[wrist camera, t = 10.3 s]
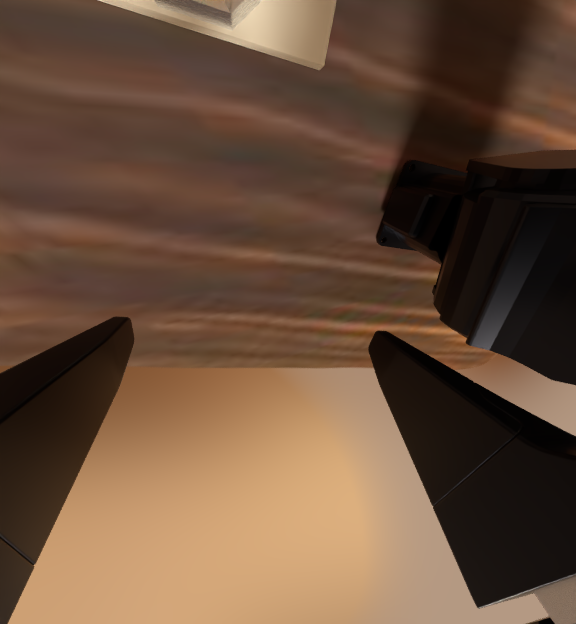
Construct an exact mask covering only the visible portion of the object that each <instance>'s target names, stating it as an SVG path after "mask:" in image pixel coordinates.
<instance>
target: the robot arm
mask: <svg viewBox="0 0 576 624" xmlns="http://www.w3.org/2000/svg"><path fill="white" fill-rule="evenodd" d="M410 165H412V169H411V170H410V171H409V167H410ZM466 171H468V173H464V172H460V171H456V170H452V169H448V168H444V167H440V166H436V165H432V164H428V163H424V162H420V161H416V160H409V161H407V162H406V163H405V165H404V167H403V169H402V172H401V175H400V177H399V180H398V183H397V185H396V188H395V189H394V190H393V193H392V195H391V198H390V201H389V203H388V206H387V209H386V211H385V214H384V217H383V220H382V221H383V223H382V225H381V228H380V231H379V233H378V236H377V240H376V241H377V243H378V244H379V245H381V246H387V247H394V248H401V249H408V250H415V251H419V252H420V253H422V254H424V255H425V256H427V257H429V258H431V259H432V260H434V261H436V262H438V263H439V264H441V268H440V272H439V275H438V279H437V282H436V285H434V287H433V291H432V293H433V295H434V306H435V307H436V309H437V311H438V312H439V313H440V314H441V315H440V320H441V321H442V322H443V323H444V324H446V325H447V326H448V327H450V328H451V329H453V330H454V331H456V332H458V333H459V334H461V335H463V336H464V337H466V338H467V340H466V344H468V345H470V346H474V347H478V348H482V349H486V350H490V351H493V352H495V353H498V354H501V355H504V356H506V357H509V358H511V359H513V360H515V361H517V362H519V363H521V364H523V365H525V366H527V367H529V368H531V369H533V370H534V371H536V372H538V373H540V374H542V375H544V376H545V377H547V378H549V379H551V380H555V381H559V382H564V383H568V384H573V385H576V150H550V151H536V152H528V153H520V154H511V155H503V156H495V157H487V158H479V159H471V160H469V163H468V166H467V170H466ZM383 237H385V239H384V241H382V242H381V240H382V238H383ZM133 344H134V334H133V328H132V323H131V320H130V318H128V317H113V318H111V319H109V320H107V321H105V322H103V323H101V324H99V325H97V326H95V327H93V328H91V329H89V330H87V331H85V332H82V333H80V334H78V335H76V336H74V337H72V338H70V339H68V340H66V341H64V342H62V343H60V344H58V345H56V346H54V347H52V348H50V349H48V350H46V351H44V352H42V353H40V354H38V355H36V356H34V357H32V358H30V359H28V360H26V361H24V362H22V363H20V364H18V365H16V366H14V367H12V368H10V369H8V370H6V371H4V372H2V373H0V624H8V622H9V619H10V617H11V615H12V613H13V611H14V609H15V607H16V605H17V603H18V600H19V598H20V596H21V594H22V592H23V590H24V588H25V586H26V583H27V581H28V579H29V577H30V575H31V573H32V571H33V569H34V564H35V563H36V562H37V560H38V558H39V556H40V553H41V551H42V549H43V547H44V545H45V543H46V541H47V539H48V537H49V535H50V532H51V530H52V528H53V526H54V524H55V522H56V520H57V517H58V515H59V513H60V511H61V509H62V507H63V505H64V503H65V501H66V498H67V496H68V494H69V492H70V490H71V488H72V486H73V484H74V482H75V480H76V477H77V475H78V473H79V471H80V469H81V467H82V465H83V463H84V461H85V458H86V456H87V454H88V452H89V450H90V448H91V445H92V444H93V442H94V439H95V437H96V435H97V433H98V431H99V429H100V427H101V425H102V423H103V420H104V418H105V416H106V414H107V412H108V410H109V408H110V406H111V403H112V401H113V399H114V397H115V395H116V393H117V391H118V389H119V386H120V384H121V381H122V378H123V375H124V372H125V369H126V366H127V363H128V360H129V357H130V354H131V351H132V348H133ZM369 354H370V357H371V360H372V363H373V367H374V370H375V373H376V376H377V379H378V382H379V385H380V387H381V389H382V392H383V394H384V396H385V399H386V401H387V403H388V406H389V407H390V410H391V412H392V414H393V417H394V419H395V422H396V424H397V426H398V428H399V431H400V433H401V435H402V438H403V440H404V442H405V444H406V447H407V449H408V451H409V454H410V456H411V458H412V460H413V463H414V465H415V467H416V469H417V472H418V474H419V476H420V479H421V481H422V483H423V486H424V488H425V490H426V493H427V495H428V497H429V499H430V502H431V504H432V506H434V507H433V509H434V511H435V513H436V515H437V518H438V520H439V522H440V525H441V527H442V530H443V532H444V534H445V536H446V538H447V541H448V543H449V546H450V548H451V550H452V552H453V555H454V557H455V559H456V562H457V564H458V566H459V569H460V571H461V573H462V575H463V578H464V580H465V582H466V584H467V587H468V589H469V591H470V594H471V596H472V598H473V600H474V602H475V604H476V606H477V608H483V607H486V606H490V605H493V604H497V603H500V602H504V601H508V600H511V599H515V598H519V597H522V596H526V595H529V594H533V593H534V594H535V595H536V597H537V598H538V600H539V601H540V603H541V604H542V605H543V607H544V608H545V610H546V612H547V613H548V614H549V617H546V618H542V619H539V620H536V621H533V622H530V623H527V624H576V436H574V435H572V434H570V433H568V432H566V431H563V430H562V429H560V428H558V427H556V426H554V425H552V424H550V423H548V422H547V421H545V420H542V419H541V418H539V417H537V416H535V415H533V414H531V413H530V412H528V411H526V410H524V409H522V408H520V407H518V406H516V405H515V404H513V403H511V402H509V401H507V400H505V399H503V398H502V397H500V396H498V395H496V394H495V393H493V392H491V391H489V390H487V389H486V388H484V387H482V386H481V385H479V384H477V383H474V382H473V381H472V380H470V379H468V378H467V377H465V376H463V375H461V374H460V373H458V372H456V371H455V370H453V369H451V368H449V367H448V366H446V365H444V364H443V363H441V362H439V361H437V360H436V359H434V358H432V357H430V356H429V355H427V354H425V353H424V352H422V351H420V350H418V349H417V348H415V347H413V346H411V345H410V344H408V343H406V342H405V341H403V340H401V339H399V338H398V337H396V336H394V335H392V334H391V333H389V332H387V331H376V332H375V334H374V336H373V338H372V340H371V342H370V345H369Z"/></svg>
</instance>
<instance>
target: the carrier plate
mask: <svg viewBox="0 0 576 624" xmlns="http://www.w3.org/2000/svg"><path fill="white" fill-rule="evenodd" d="M98 1H102V2H105V3H108V4H111V5H114V6H117V7H121V8H124V9H127V10H130V11H133V12H136V13H140V14H143V15H146V16H149V17H152V18H155V19H159V20H162V21H165V22H168V23H171V24H174V25H178V26H181V27H184V28H187V29H190V30H193V31H197V32H200V33H203V34H206V35H209V36H212V37H216V38H219V39H222V40H225V41H228V42H231V43H235V44H238V45H241V46H244V47H247V48H250V49H254V50H257V51H260V52H263V53H266V54H269V55H273V56H276V57H279V58H282V59H285V60H288V61H292V62H295V63H298V64H301V65H304V66H307V67H311V68H314V69H317V70H320V69H321V68H322V67H323V66H324V64H325V58H326V53H327V48H328V43H329V37H330V32H331V27H332V22H333V16H334V11H335V6H336V1H337V0H262V1H261V2H260V3H259V4H258V5H257V6H256V7H255V8H254V9H253V10H252V11H251V12H250V13H249V14H248V15H247V16H246V17H245V18H244V19H243V20H242V21H241V22H240V23H239V24H238V25H237V26H236V28H235V29H234V30H233V31H232V30H228V29H225V28H222V27H219V26H216V25H213V24H210V23H207V22H204V21H201V20H198V19H195V18H192V17H189V16H186V15H183V14H180V13H177V12H173V11H170V10H167V9H164V8H161V7H158V6H157V4H156V2H155V1H154V0H98Z"/></svg>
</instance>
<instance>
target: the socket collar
mask: <svg viewBox="0 0 576 624" xmlns="http://www.w3.org/2000/svg"><path fill="white" fill-rule="evenodd" d="M154 1H155V2H156V4H157V6H158V7H161V8H164V9H167V10H170V11H173V12H177V13H180V14H183V15H186V16H189V17H192V18H195V19H198V20H201V21H204V22H207V23H210V24H213V25H216V26H219V27H222V28H225V29H228V30H232V31H233V30H234V29H235V28H236V26H237V25H238V24H239V23H240V22H241V21H242V20H243V19H244V18H245V17H246V16H247V15H248V14H249V13H250V12H251V11H252V10H253V9H254V8H255V7H256V6H257V5H258V4H259V3H260V2H261V1H262V0H154Z"/></svg>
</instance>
